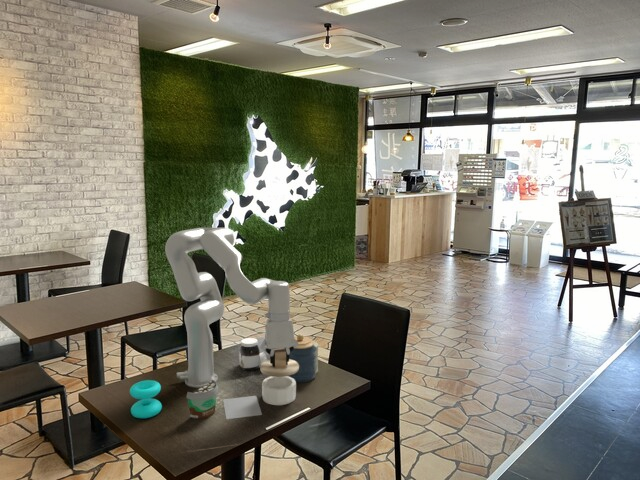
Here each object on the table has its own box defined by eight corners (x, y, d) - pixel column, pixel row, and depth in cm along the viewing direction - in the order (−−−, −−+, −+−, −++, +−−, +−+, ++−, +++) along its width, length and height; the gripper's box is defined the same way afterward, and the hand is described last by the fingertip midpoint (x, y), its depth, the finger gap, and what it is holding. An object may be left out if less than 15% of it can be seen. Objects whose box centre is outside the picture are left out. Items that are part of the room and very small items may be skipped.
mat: (226, 420, 160) (226, 419, 160) (223, 400, 174) (223, 399, 173) (262, 415, 163) (262, 414, 163) (256, 396, 177) (256, 395, 177)
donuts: (164, 386, 162) (134, 394, 156) (165, 414, 164) (135, 423, 158) (155, 376, 170) (126, 383, 164) (156, 402, 172) (127, 410, 166)
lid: (257, 362, 179) (257, 345, 178) (294, 359, 183) (294, 341, 181) (263, 378, 166) (263, 359, 164) (302, 374, 169) (302, 355, 168)
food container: (200, 426, 157) (199, 397, 155) (187, 420, 160) (186, 392, 158) (226, 410, 167) (225, 383, 165) (213, 405, 170) (212, 378, 169)
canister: (312, 384, 187) (312, 341, 184) (280, 381, 189) (280, 338, 187) (318, 370, 199) (319, 330, 197) (288, 367, 202) (288, 327, 199)
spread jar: (237, 364, 205) (236, 338, 203) (262, 359, 210) (262, 334, 208) (246, 375, 194) (245, 348, 193) (272, 370, 200) (272, 343, 198)
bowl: (265, 407, 169) (265, 391, 168) (260, 392, 180) (260, 377, 179) (298, 403, 172) (298, 388, 171) (291, 388, 183) (291, 373, 182)
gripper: (257, 321, 165) (258, 371, 168) (304, 317, 170) (304, 366, 173) (254, 314, 172) (255, 362, 175) (299, 311, 177) (299, 358, 180)
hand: (279, 363), depth 174 cm, fingers closed on lid, 4 cm apart
